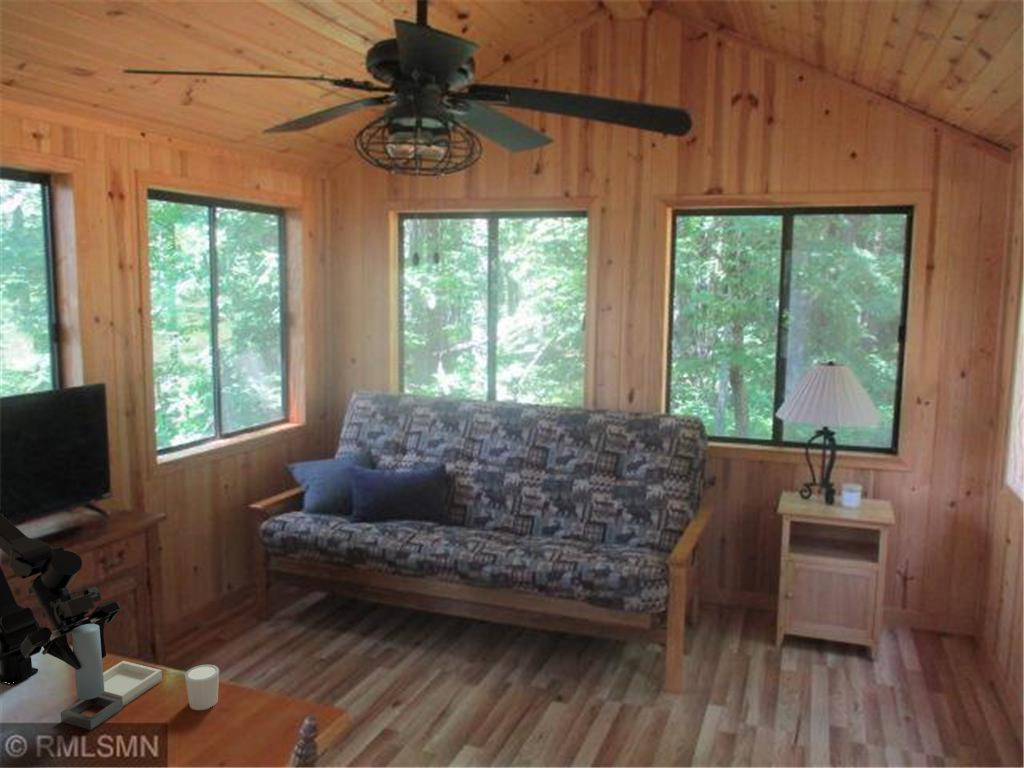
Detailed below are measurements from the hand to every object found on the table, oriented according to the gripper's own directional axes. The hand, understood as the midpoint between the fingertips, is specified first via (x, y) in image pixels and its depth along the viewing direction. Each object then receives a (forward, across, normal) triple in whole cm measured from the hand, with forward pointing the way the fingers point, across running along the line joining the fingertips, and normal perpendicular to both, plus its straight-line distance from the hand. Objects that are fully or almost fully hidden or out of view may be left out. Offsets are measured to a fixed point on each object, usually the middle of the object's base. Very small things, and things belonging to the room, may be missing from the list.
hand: (92, 662), depth 162 cm
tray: (+5, +10, +12) cm, 16 cm away
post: (+4, 0, +6) cm, 7 cm away
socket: (+8, 0, +10) cm, 12 cm away
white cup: (+19, +15, -1) cm, 24 cm away
